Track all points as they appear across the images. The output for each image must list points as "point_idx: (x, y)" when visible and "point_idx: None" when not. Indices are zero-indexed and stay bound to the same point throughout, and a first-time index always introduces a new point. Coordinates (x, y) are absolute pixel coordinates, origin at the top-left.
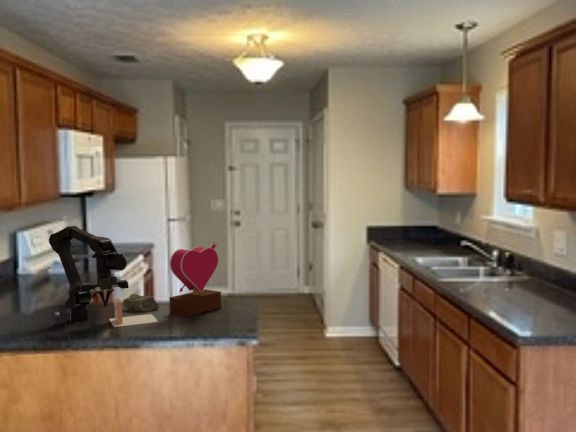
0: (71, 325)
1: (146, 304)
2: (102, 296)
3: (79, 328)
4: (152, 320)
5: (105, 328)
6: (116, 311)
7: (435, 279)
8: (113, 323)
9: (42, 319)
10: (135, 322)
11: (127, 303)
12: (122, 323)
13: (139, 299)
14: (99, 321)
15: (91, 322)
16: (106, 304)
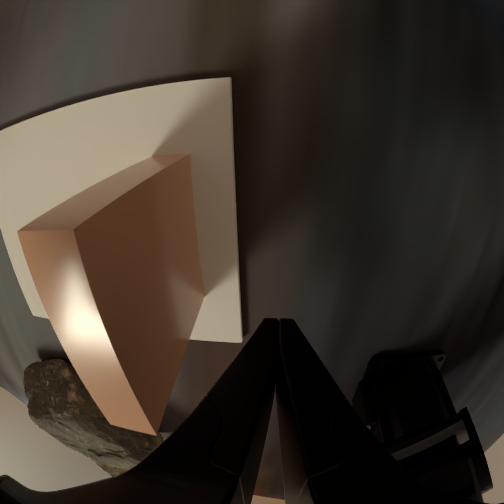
0: (463, 306)
1: (54, 393)
2: (340, 452)
3: (461, 212)
4: (1, 177)
5: (300, 101)
6: (155, 233)
7: None
8: (220, 197)
9: (472, 415)
10: (70, 161)
11: (145, 449)
12: (151, 157)
13: (80, 434)
14: (306, 330)
15: (356, 327)
16: (260, 332)
